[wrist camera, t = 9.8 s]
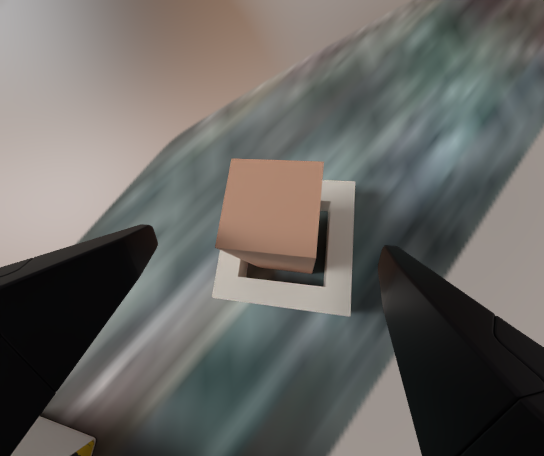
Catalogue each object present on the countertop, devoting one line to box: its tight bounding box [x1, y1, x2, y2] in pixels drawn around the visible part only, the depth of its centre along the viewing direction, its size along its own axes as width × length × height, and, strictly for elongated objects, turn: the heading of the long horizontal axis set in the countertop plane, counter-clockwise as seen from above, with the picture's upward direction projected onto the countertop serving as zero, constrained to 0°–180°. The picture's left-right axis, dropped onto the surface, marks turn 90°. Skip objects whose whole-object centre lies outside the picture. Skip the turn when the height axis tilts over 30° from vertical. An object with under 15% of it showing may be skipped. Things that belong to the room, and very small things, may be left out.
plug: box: [215, 159, 324, 274], centre depth 15 cm, size 5×4×10 cm
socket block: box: [212, 180, 355, 317], centre depth 19 cm, size 10×10×2 cm
